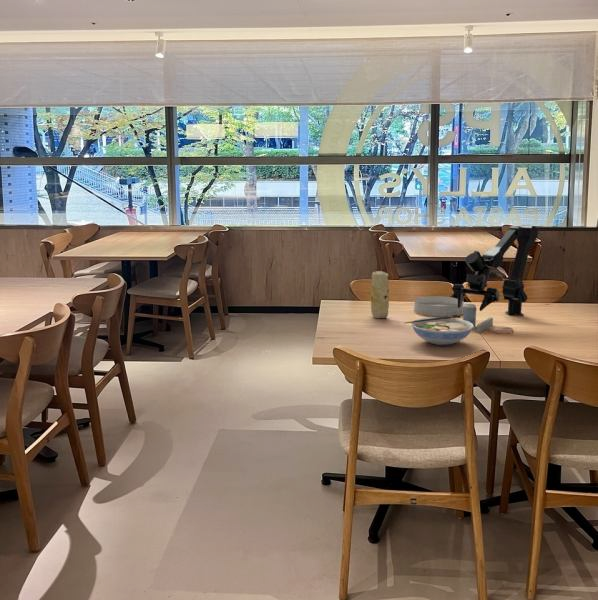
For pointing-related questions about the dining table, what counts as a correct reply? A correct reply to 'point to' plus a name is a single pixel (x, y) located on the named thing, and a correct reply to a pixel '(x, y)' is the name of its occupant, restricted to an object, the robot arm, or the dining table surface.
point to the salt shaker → (470, 313)
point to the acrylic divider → (484, 325)
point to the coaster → (500, 329)
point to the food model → (379, 294)
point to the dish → (438, 306)
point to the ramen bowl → (442, 329)
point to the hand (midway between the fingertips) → (469, 309)
